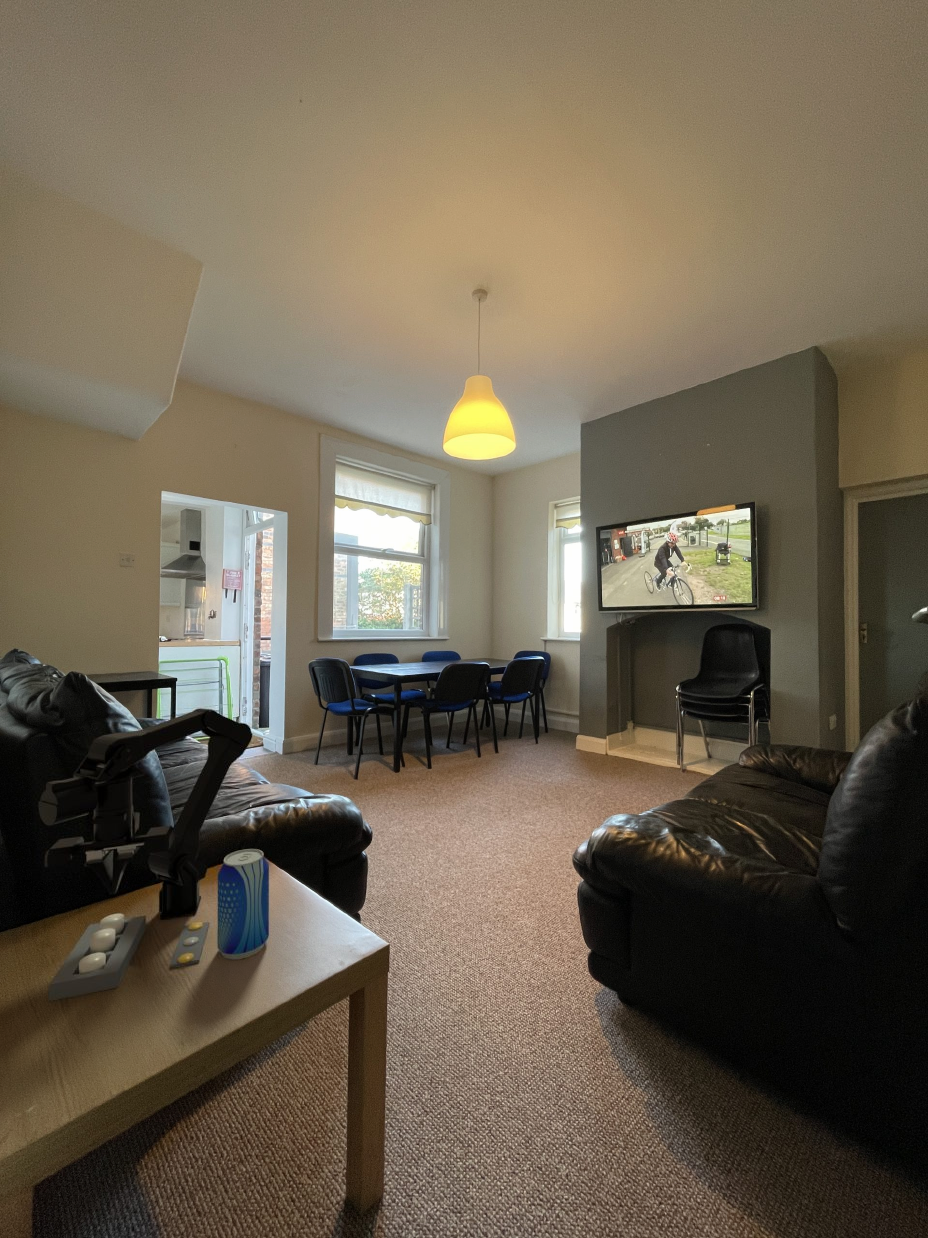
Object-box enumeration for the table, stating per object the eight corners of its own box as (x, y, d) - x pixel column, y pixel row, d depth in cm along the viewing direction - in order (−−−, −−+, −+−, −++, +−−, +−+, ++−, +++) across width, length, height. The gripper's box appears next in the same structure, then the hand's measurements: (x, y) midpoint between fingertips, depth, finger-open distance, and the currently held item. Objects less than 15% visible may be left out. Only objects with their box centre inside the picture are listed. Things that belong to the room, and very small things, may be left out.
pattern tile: (209, 924, 99) (209, 920, 99) (199, 963, 87) (199, 959, 87) (183, 928, 97) (183, 924, 97) (169, 969, 86) (169, 964, 86)
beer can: (277, 946, 92) (277, 855, 92) (229, 969, 85) (229, 872, 86) (255, 928, 97) (256, 843, 98) (209, 948, 91) (210, 857, 92)
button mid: (117, 941, 90) (118, 927, 90) (111, 953, 87) (111, 938, 87) (94, 945, 89) (94, 930, 89) (86, 957, 86) (87, 942, 86)
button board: (145, 929, 97) (145, 915, 97) (117, 987, 81) (118, 971, 81) (89, 938, 94) (89, 924, 94) (49, 1001, 78) (49, 984, 78)
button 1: (108, 966, 85) (108, 950, 85) (101, 979, 82) (101, 963, 82) (83, 970, 84) (83, 955, 84) (75, 984, 81) (75, 968, 81)
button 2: (126, 926, 95) (126, 912, 95) (120, 936, 91) (120, 922, 92) (104, 929, 94) (104, 915, 94) (97, 940, 90) (97, 926, 90)
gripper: (179, 787, 104) (180, 865, 103) (68, 798, 97) (68, 881, 97) (168, 805, 93) (168, 891, 93) (43, 819, 87) (43, 912, 87)
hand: (113, 892), depth 93 cm, fingers closed
